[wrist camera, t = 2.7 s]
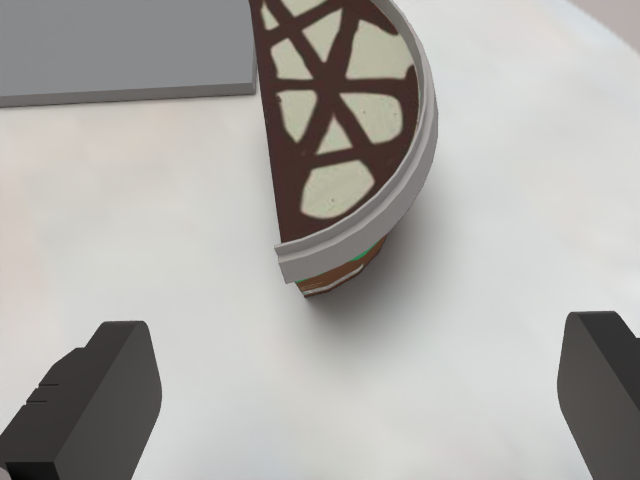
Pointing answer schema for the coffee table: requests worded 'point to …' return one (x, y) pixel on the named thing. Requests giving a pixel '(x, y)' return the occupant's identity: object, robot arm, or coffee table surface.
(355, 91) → the food container
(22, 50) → the slate board
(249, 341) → the coffee table surface
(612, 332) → the robot arm
